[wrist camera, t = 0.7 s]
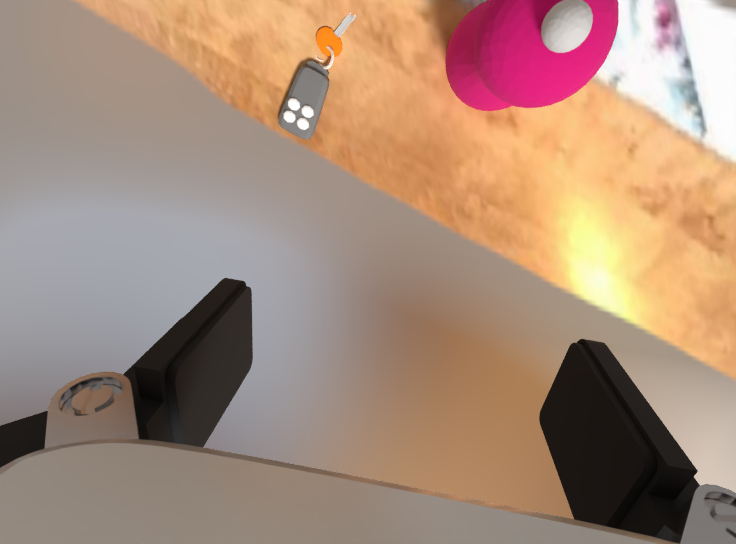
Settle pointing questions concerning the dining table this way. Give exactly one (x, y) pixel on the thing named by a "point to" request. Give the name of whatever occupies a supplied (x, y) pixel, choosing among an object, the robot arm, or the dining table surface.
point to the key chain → (312, 85)
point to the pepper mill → (528, 51)
